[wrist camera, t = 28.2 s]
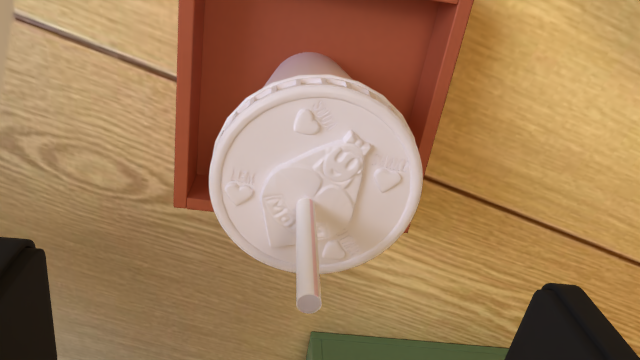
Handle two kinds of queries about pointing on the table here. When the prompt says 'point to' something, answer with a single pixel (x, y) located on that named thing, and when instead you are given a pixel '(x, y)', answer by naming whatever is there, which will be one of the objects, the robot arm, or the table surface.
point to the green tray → (393, 349)
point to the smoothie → (314, 173)
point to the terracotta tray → (298, 37)
